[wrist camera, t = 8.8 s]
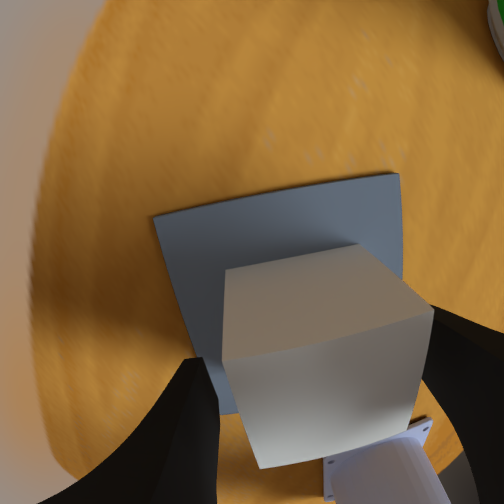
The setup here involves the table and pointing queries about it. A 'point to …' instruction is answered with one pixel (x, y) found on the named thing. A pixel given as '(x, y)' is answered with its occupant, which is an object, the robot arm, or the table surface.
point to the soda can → (497, 23)
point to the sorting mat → (270, 246)
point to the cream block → (322, 353)
